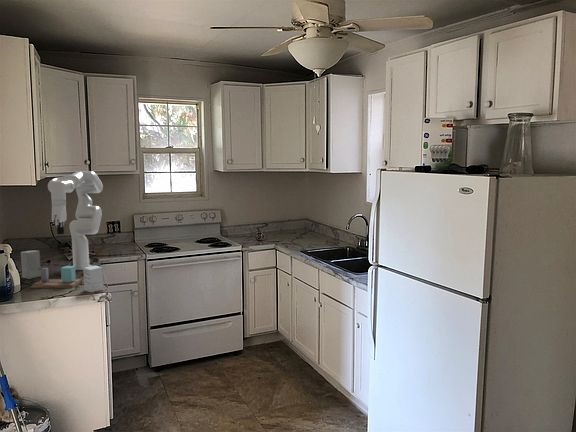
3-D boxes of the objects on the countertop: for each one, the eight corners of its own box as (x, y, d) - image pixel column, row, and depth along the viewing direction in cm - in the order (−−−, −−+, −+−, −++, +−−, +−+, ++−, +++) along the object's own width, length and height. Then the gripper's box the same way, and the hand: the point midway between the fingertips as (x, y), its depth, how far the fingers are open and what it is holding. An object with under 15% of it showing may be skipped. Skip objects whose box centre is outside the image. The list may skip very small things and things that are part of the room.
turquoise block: (65, 278, 269) (65, 265, 268) (75, 278, 269) (75, 265, 269) (61, 281, 264) (60, 268, 263) (71, 281, 264) (71, 268, 263)
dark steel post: (43, 281, 267) (43, 267, 266) (48, 281, 267) (48, 267, 266) (41, 282, 265) (40, 268, 264) (46, 282, 265) (45, 268, 264)
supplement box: (97, 287, 261) (95, 265, 260) (103, 289, 256) (102, 267, 255) (84, 290, 256) (82, 267, 254) (90, 292, 251) (89, 269, 249)
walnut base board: (43, 281, 273) (42, 279, 273) (81, 281, 274) (81, 278, 274) (31, 288, 259) (31, 285, 259) (72, 287, 260) (72, 285, 260)
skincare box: (29, 279, 278) (27, 252, 276) (21, 277, 281) (19, 251, 279) (42, 276, 285) (40, 250, 283) (34, 274, 288) (32, 249, 287)
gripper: (57, 201, 280) (59, 231, 282) (46, 203, 265) (48, 236, 267) (70, 201, 280) (72, 231, 283) (60, 203, 265) (62, 236, 268)
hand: (60, 233), depth 275 cm, fingers closed
